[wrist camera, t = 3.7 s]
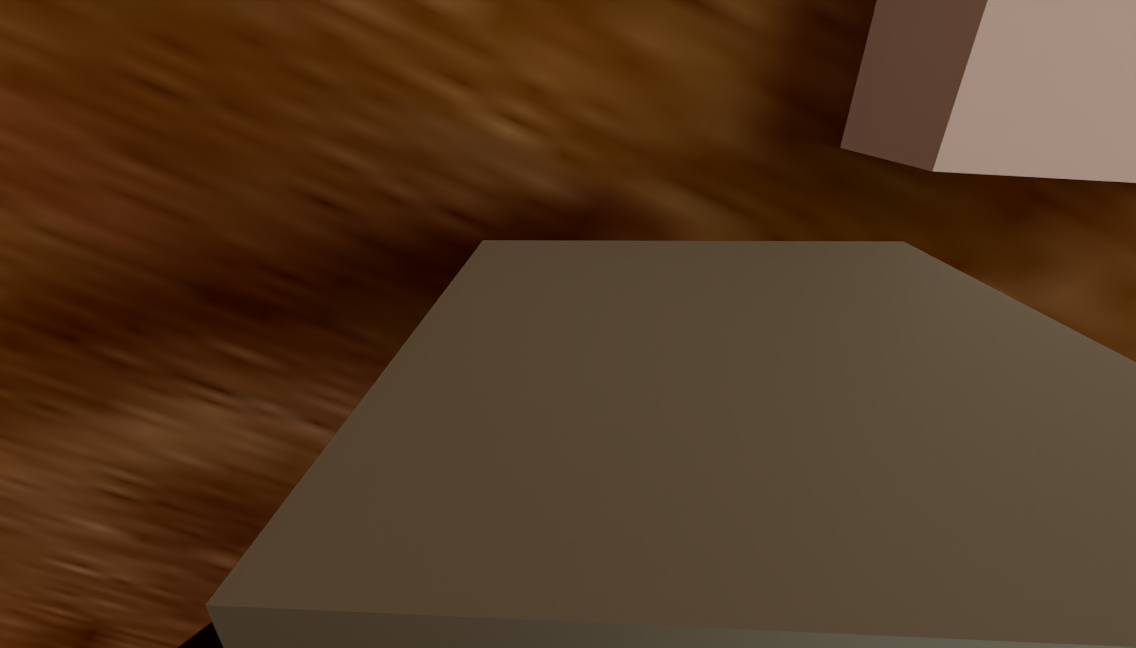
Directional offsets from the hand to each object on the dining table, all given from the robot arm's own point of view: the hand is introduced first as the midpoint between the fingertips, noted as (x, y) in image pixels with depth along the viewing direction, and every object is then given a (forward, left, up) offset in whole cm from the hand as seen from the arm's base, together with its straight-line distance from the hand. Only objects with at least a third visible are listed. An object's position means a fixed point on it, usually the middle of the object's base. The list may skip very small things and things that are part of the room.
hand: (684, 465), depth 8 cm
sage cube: (0, 0, -1) cm, 1 cm away
